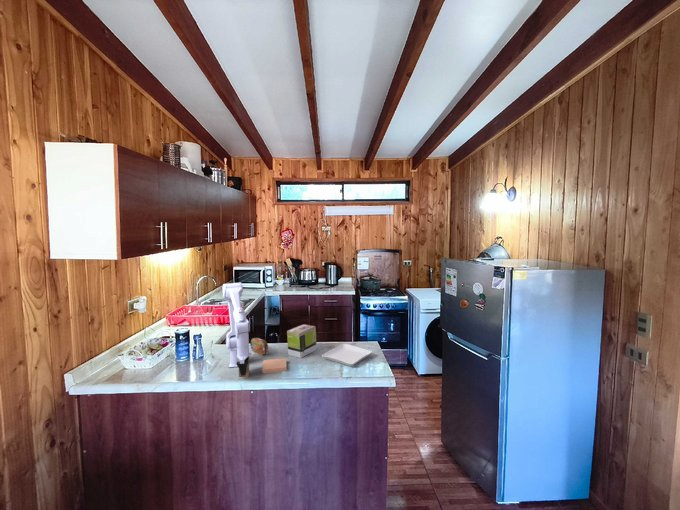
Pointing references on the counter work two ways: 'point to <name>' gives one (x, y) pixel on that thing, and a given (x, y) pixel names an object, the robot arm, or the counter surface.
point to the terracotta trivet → (274, 365)
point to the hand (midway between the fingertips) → (244, 371)
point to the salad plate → (347, 354)
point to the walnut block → (246, 372)
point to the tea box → (301, 340)
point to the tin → (259, 346)
